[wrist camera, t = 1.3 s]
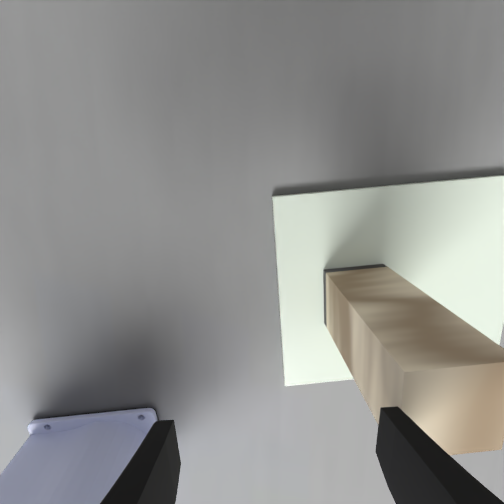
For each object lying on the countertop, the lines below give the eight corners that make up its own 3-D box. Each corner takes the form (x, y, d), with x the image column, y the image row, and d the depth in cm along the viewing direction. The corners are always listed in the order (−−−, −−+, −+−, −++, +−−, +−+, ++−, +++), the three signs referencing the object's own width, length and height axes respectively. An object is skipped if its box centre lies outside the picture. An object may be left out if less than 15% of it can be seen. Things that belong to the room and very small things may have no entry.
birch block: (324, 323, 21) (397, 460, 11) (323, 269, 20) (404, 372, 10) (380, 317, 21) (501, 449, 11) (383, 263, 20) (520, 360, 10)
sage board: (284, 380, 23) (285, 386, 22) (271, 196, 19) (273, 197, 18) (489, 359, 23) (495, 364, 22) (522, 173, 19) (530, 173, 18)
